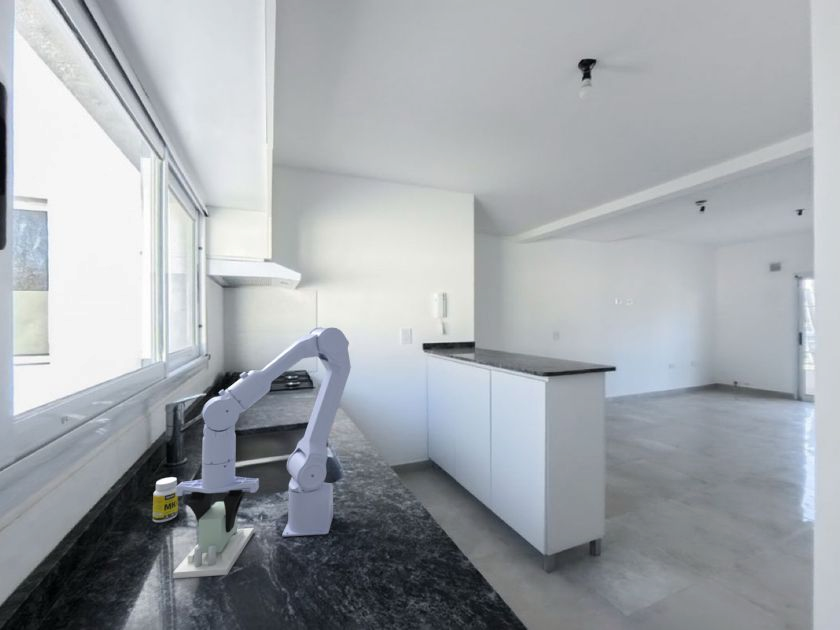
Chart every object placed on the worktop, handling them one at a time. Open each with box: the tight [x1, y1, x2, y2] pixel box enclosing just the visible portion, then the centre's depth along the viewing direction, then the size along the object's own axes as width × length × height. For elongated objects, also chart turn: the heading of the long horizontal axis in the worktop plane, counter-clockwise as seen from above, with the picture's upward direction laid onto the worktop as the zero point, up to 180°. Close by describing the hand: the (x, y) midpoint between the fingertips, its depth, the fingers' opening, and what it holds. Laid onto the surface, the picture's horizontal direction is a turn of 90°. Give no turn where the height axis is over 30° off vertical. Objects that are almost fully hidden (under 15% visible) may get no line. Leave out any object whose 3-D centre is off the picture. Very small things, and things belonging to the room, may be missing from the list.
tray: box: [172, 516, 255, 579], centre depth 69 cm, size 9×13×4 cm
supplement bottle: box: [152, 476, 179, 523], centre depth 82 cm, size 5×5×8 cm
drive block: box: [197, 501, 238, 553], centre depth 70 cm, size 4×7×6 cm, turn 6°
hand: (217, 530), depth 69 cm, fingers closed on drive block, 4 cm apart
